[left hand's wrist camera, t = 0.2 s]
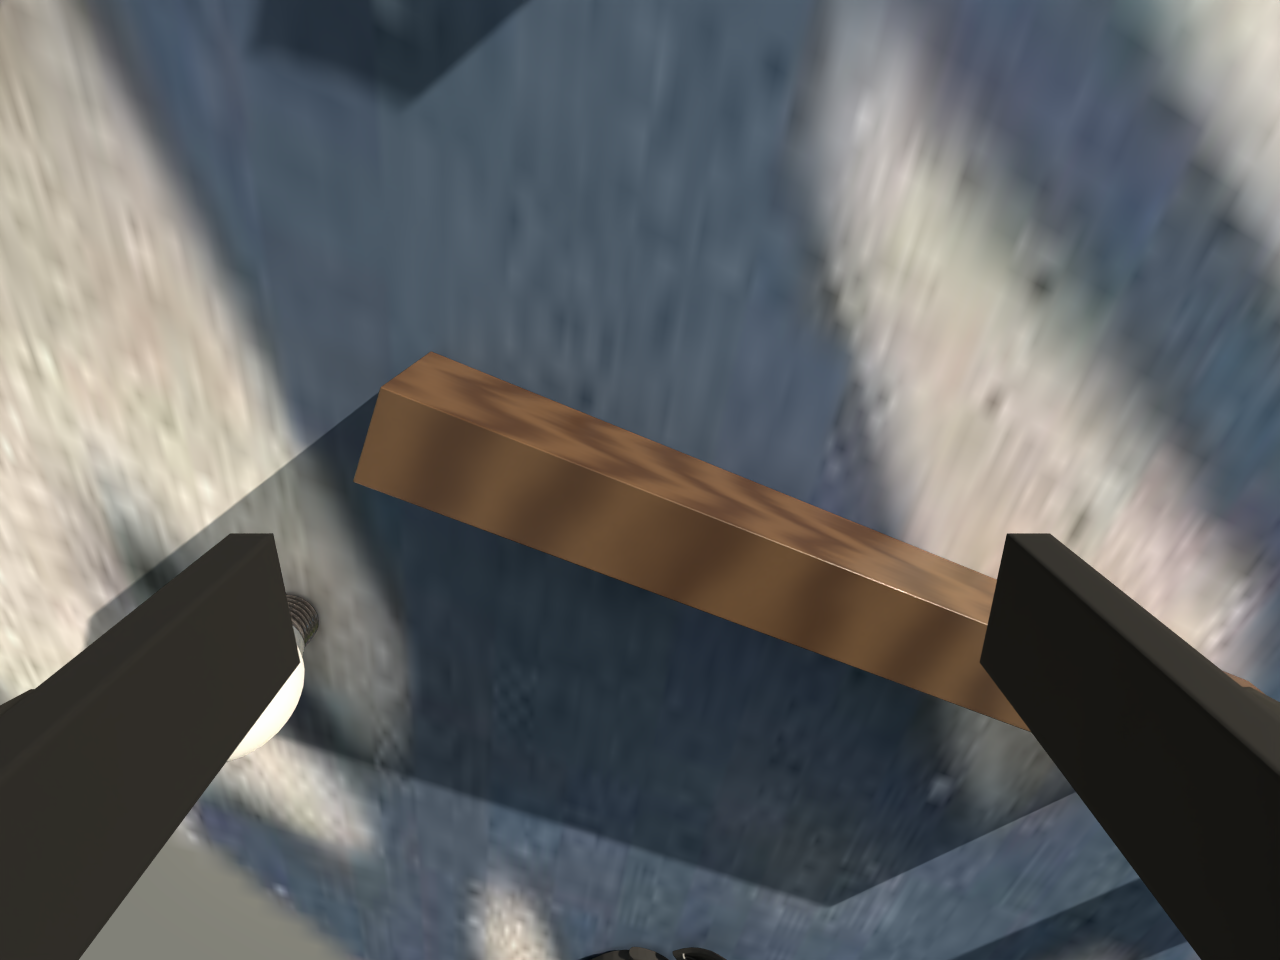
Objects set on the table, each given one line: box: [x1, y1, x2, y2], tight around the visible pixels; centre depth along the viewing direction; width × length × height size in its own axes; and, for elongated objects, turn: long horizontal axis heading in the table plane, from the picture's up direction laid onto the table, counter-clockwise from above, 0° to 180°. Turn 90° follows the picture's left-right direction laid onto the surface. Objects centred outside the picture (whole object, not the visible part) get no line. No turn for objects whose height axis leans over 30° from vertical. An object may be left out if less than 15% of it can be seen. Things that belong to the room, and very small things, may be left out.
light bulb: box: [227, 595, 318, 762], centre depth 40 cm, size 7×7×11 cm
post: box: [353, 352, 1264, 732], centre depth 40 cm, size 57×5×8 cm, turn 67°
